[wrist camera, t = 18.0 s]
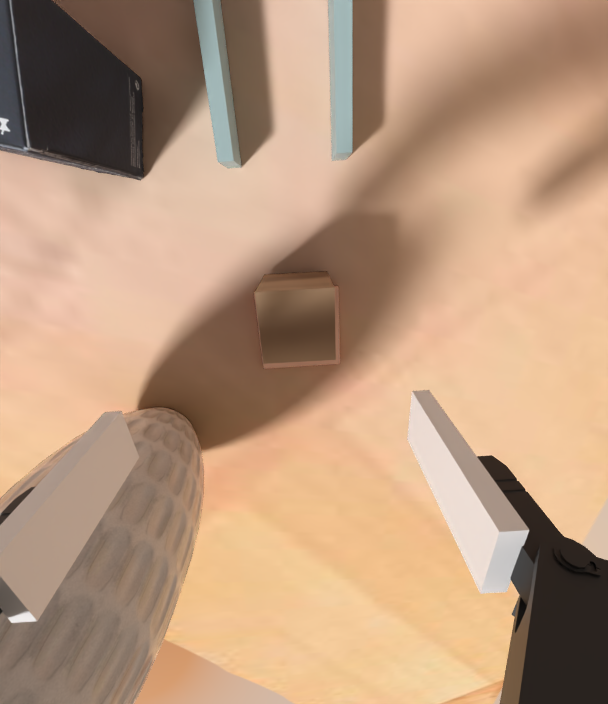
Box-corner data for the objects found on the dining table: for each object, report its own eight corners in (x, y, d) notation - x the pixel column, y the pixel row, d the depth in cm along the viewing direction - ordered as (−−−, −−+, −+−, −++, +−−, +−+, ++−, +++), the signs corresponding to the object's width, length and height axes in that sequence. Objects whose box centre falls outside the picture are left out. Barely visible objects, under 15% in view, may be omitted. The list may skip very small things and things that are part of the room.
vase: (112, 357, 28) (-1720, 1777, 3) (244, 404, 31) (-39, 1411, 5) (90, 456, 33) (-645, 1318, 7) (207, 491, 35) (-40, 1238, 10)
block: (264, 274, 25) (254, 292, 19) (326, 271, 25) (334, 287, 19) (270, 333, 27) (263, 363, 21) (328, 329, 27) (335, 359, 21)
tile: (254, 291, 26) (253, 293, 26) (337, 285, 26) (338, 287, 25) (264, 365, 29) (263, 368, 28) (339, 361, 29) (340, 363, 28)
